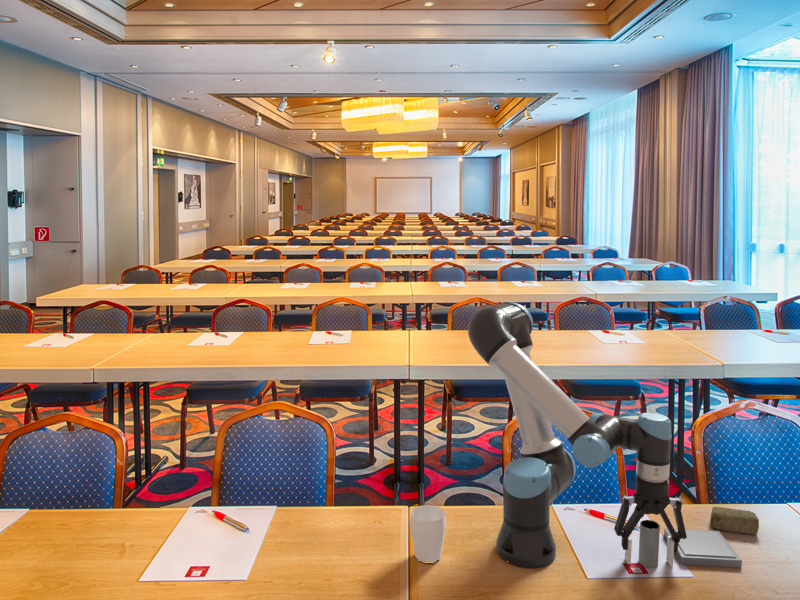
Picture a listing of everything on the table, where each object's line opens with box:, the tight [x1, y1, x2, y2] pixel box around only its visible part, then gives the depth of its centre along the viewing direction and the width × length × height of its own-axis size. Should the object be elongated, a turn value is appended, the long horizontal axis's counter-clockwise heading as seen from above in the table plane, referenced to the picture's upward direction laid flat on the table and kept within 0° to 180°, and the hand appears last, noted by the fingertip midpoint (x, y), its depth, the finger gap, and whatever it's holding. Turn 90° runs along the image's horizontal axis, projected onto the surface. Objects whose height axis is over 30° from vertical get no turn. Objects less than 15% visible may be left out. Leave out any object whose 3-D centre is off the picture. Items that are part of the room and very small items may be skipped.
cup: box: [409, 504, 447, 562], centre depth 152 cm, size 9×9×12 cm
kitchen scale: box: [663, 527, 743, 569], centre depth 154 cm, size 14×14×2 cm
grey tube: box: [638, 519, 661, 568], centre depth 148 cm, size 4×4×10 cm
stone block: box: [709, 506, 760, 535], centre depth 165 cm, size 6×12×5 cm, turn 72°
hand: (648, 562), depth 149 cm, fingers open, 9 cm apart
